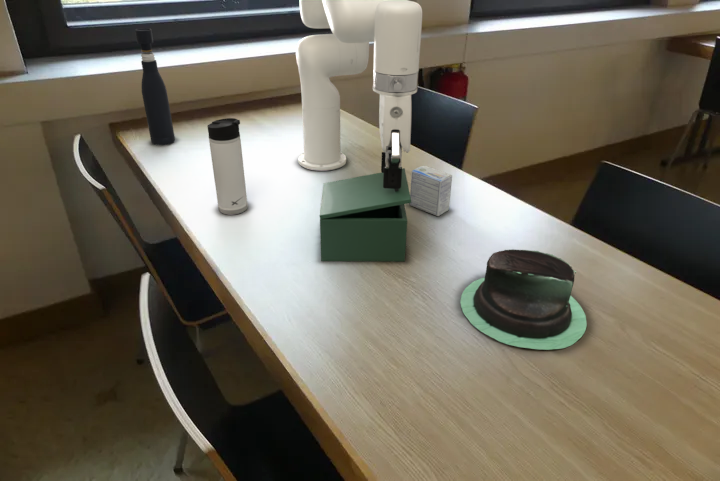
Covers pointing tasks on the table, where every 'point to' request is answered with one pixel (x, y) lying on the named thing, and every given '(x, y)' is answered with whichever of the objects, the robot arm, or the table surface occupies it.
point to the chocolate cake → (526, 301)
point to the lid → (361, 195)
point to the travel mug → (228, 165)
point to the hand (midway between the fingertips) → (390, 179)
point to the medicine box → (430, 190)
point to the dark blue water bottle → (154, 93)
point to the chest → (365, 235)
